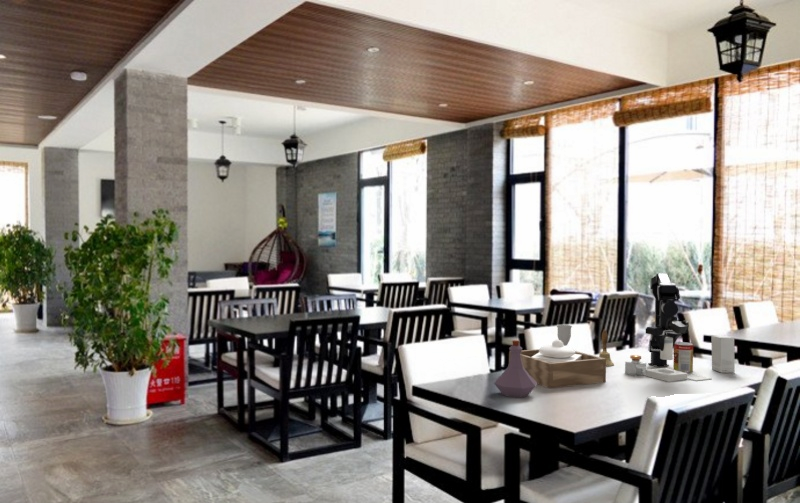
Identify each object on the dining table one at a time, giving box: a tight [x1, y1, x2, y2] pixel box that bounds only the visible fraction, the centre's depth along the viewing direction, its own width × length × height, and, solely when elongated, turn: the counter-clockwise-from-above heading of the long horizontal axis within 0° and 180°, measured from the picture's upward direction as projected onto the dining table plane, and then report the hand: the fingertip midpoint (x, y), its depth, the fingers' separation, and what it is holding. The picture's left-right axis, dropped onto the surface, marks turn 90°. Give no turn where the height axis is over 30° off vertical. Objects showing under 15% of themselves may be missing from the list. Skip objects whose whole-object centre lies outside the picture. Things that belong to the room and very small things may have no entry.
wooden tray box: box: [508, 348, 607, 389], centre depth 256 cm, size 28×28×10 cm
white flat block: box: [644, 367, 688, 382], centre depth 258 cm, size 12×11×2 cm
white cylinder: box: [660, 337, 674, 361], centre depth 258 cm, size 5×5×9 cm
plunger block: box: [624, 360, 647, 377], centre depth 265 cm, size 6×6×5 cm
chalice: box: [556, 324, 573, 346], centre depth 284 cm, size 7×7×18 cm
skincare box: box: [710, 334, 736, 374], centre depth 272 cm, size 8×7×16 cm
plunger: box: [629, 354, 642, 364], centre depth 265 cm, size 4×4×7 cm
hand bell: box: [598, 329, 615, 367], centre depth 285 cm, size 8×8×16 cm
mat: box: [686, 373, 713, 382], centre depth 258 cm, size 9×9×1 cm
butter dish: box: [532, 339, 582, 363], centre depth 256 cm, size 18×18×16 cm
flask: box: [493, 339, 538, 399], centre depth 228 cm, size 16×16×20 cm
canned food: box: [672, 341, 694, 373], centre depth 273 cm, size 8×8×12 cm
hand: (666, 350), depth 258 cm, fingers closed on white cylinder, 5 cm apart
